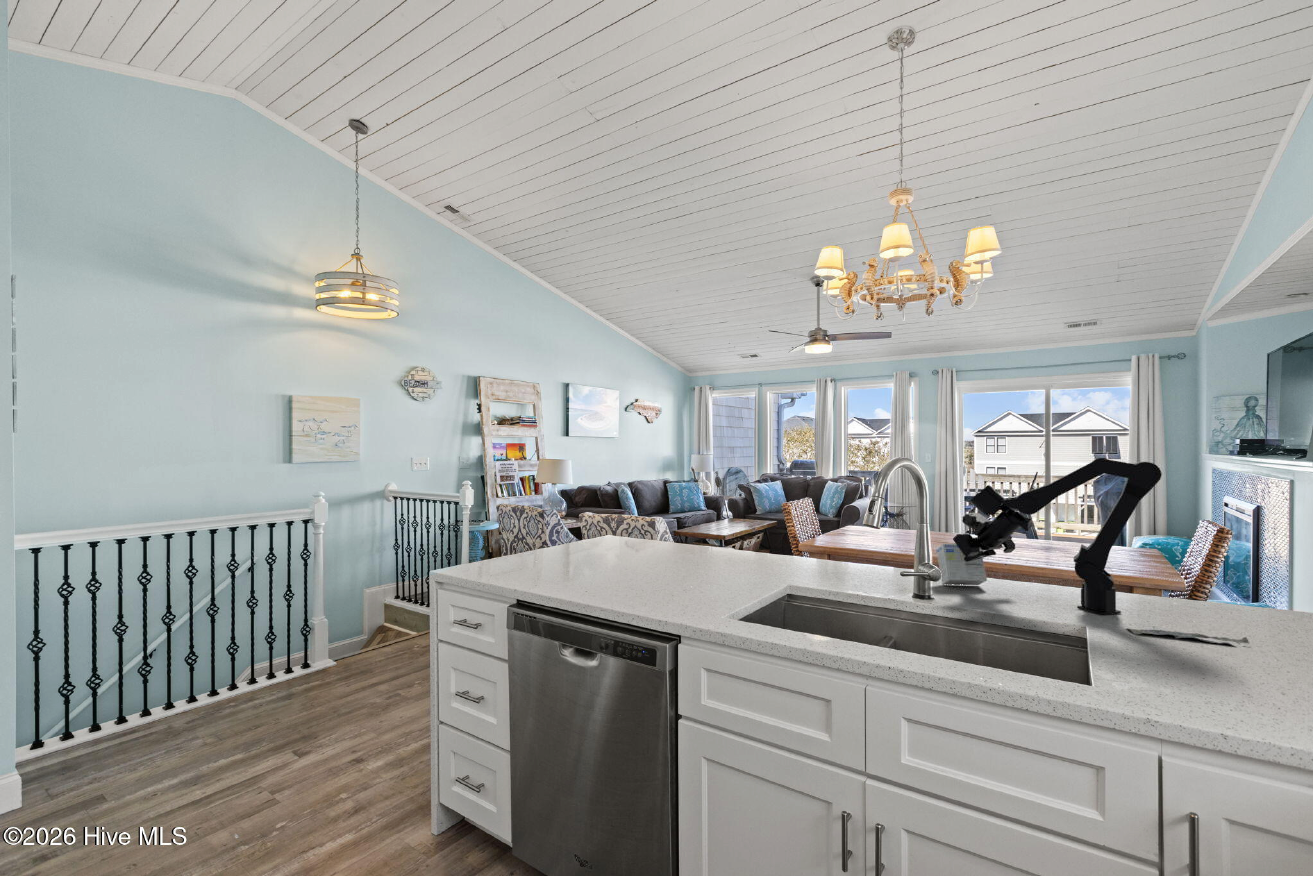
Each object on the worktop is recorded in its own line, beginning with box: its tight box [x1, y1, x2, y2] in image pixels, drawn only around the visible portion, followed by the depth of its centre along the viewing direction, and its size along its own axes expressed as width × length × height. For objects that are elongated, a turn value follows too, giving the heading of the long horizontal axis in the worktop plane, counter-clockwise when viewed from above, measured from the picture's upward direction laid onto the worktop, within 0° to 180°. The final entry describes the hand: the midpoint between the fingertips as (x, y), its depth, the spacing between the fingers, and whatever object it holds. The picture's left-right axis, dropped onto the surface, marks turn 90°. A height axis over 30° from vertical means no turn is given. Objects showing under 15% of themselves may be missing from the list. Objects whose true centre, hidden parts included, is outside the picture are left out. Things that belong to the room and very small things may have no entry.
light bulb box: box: [936, 543, 988, 586], centre depth 175 cm, size 11×7×11 cm, turn 85°
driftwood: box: [1127, 626, 1251, 649], centre depth 128 cm, size 21×7×2 cm, turn 61°
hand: (965, 560), depth 171 cm, fingers closed
